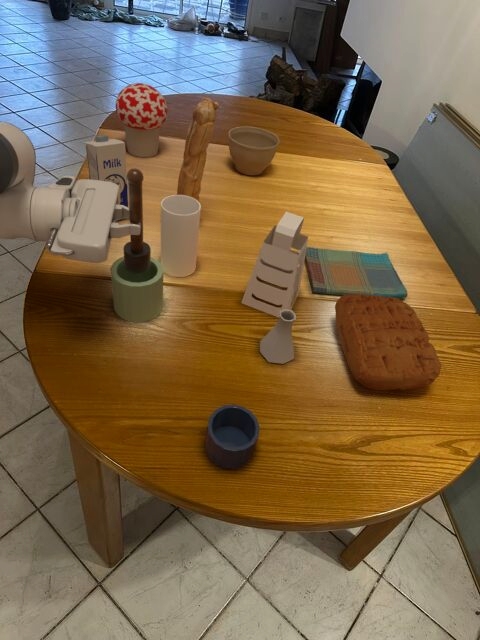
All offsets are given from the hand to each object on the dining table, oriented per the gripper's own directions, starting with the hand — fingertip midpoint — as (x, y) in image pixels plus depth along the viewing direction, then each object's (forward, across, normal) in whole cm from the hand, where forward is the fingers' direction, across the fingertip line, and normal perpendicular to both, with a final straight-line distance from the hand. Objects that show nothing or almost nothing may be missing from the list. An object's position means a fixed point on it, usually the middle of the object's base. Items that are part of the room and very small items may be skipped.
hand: (141, 222), depth 73 cm
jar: (-1, 0, +20) cm, 20 cm away
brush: (-1, 0, +9) cm, 9 cm away
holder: (+16, -32, +20) cm, 41 cm away
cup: (+7, +14, +20) cm, 26 cm away
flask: (+27, -11, +20) cm, 35 cm away
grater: (+28, +5, +20) cm, 35 cm away
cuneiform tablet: (+48, -11, +20) cm, 53 cm away
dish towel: (+50, +15, +20) cm, 56 cm away
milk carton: (-11, +34, +21) cm, 41 cm away
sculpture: (+10, +35, +20) cm, 42 cm away
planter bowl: (+29, +69, +20) cm, 77 cm away
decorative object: (-6, +74, +21) cm, 77 cm away
